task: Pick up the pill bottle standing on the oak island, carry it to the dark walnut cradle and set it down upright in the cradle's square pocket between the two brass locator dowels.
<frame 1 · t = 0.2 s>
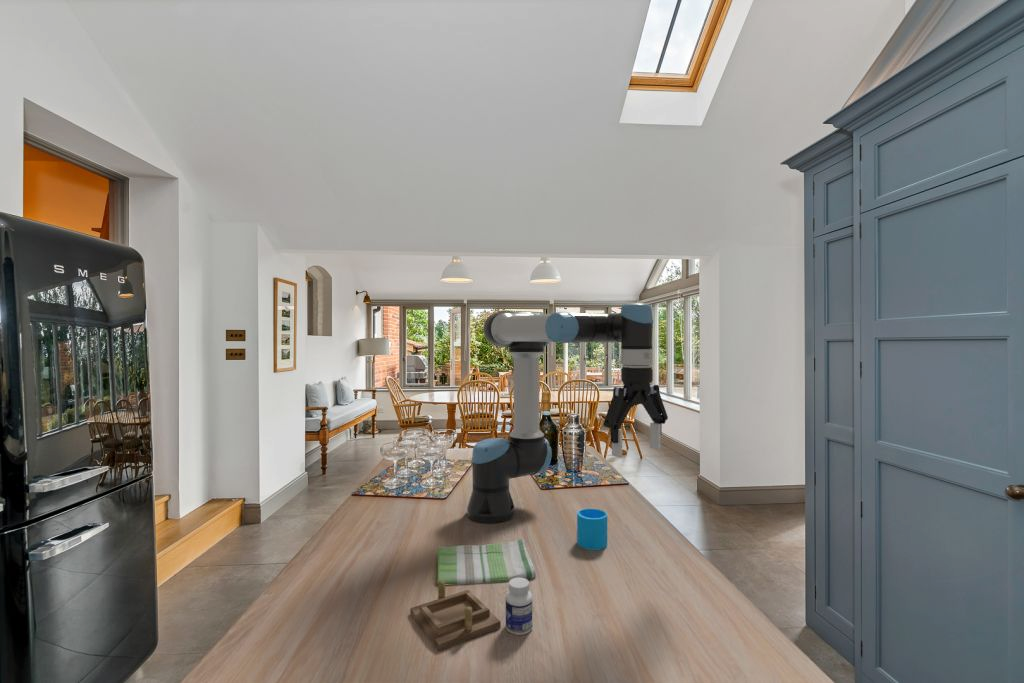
hand: (636, 452, 120), 28 cm above the kitchen island, fingers open, 13 cm apart
dish towel: (484, 568, 120), on the kitchen island
pill bottle: (519, 628, 95), on the kitchen island
mug: (589, 541, 135), on the kitchen island
cradle: (454, 620, 97), on the kitchen island
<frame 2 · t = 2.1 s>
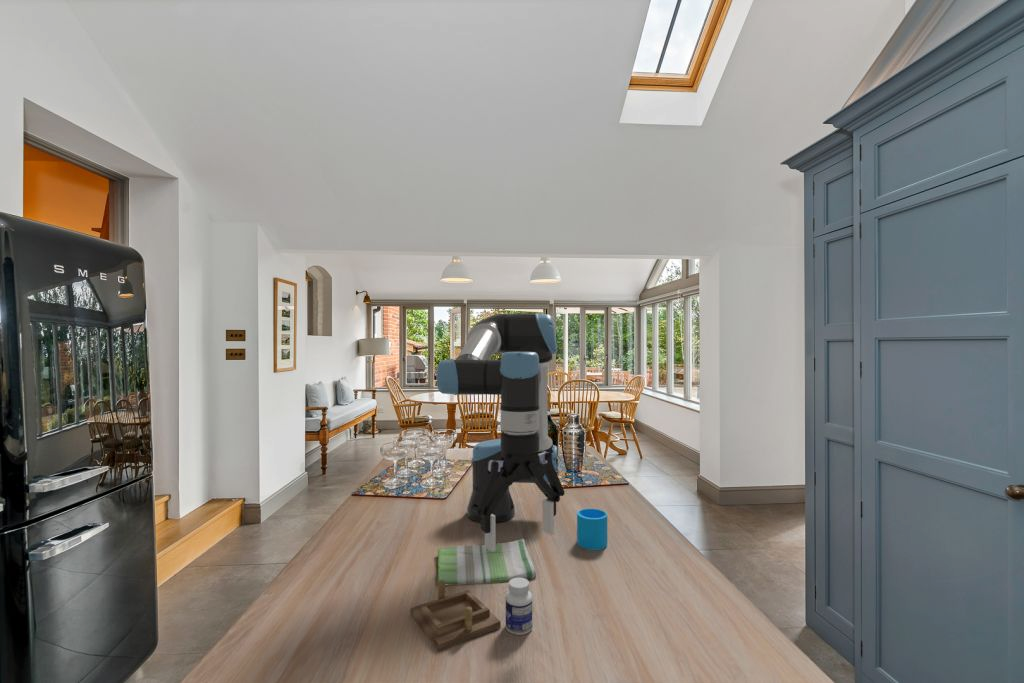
hand: (520, 540, 95), 17 cm above the kitchen island, fingers open, 13 cm apart
nothing on the kitchen island moved.
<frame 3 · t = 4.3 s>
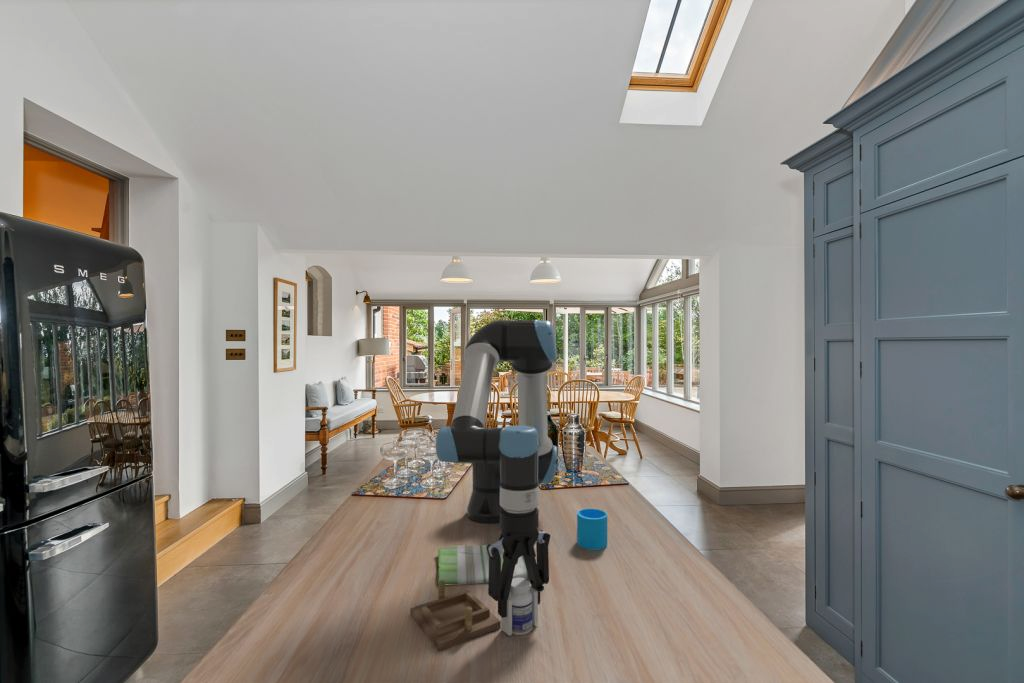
hand: (519, 626, 95), 0 cm above the kitchen island, fingers closed on pill bottle, 5 cm apart
pill bottle: (519, 628, 95), on the kitchen island, touching gripper
everything else where it was.
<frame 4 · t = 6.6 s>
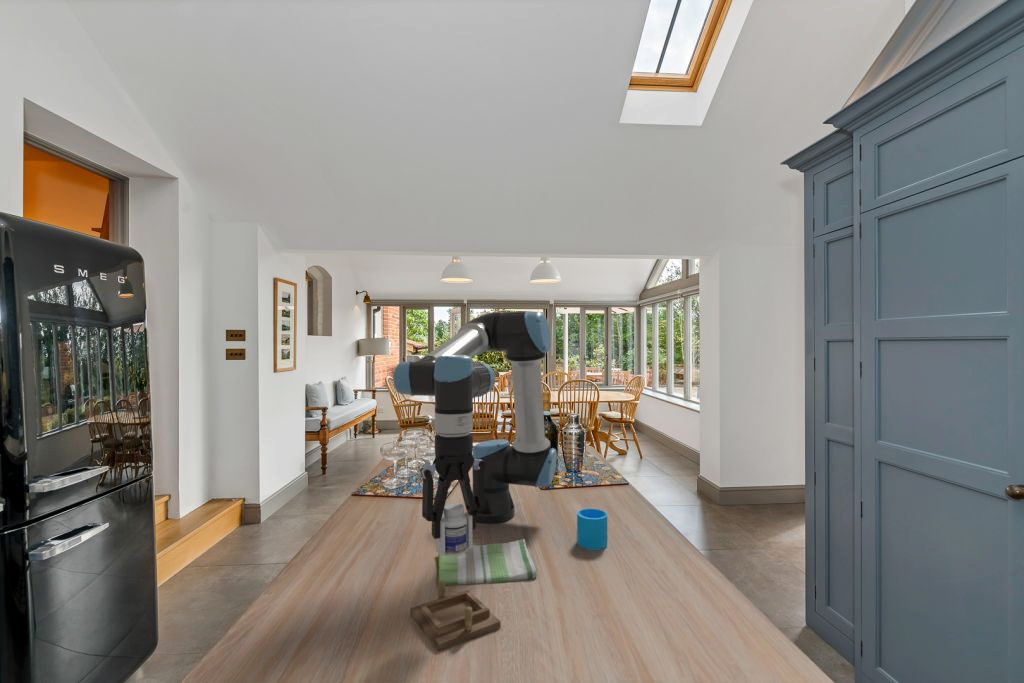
hand: (454, 549, 97), 14 cm above the kitchen island, fingers closed on pill bottle, 5 cm apart
pill bottle: (454, 551, 97), point 14 cm above the kitchen island, touching gripper
everything else where it was.
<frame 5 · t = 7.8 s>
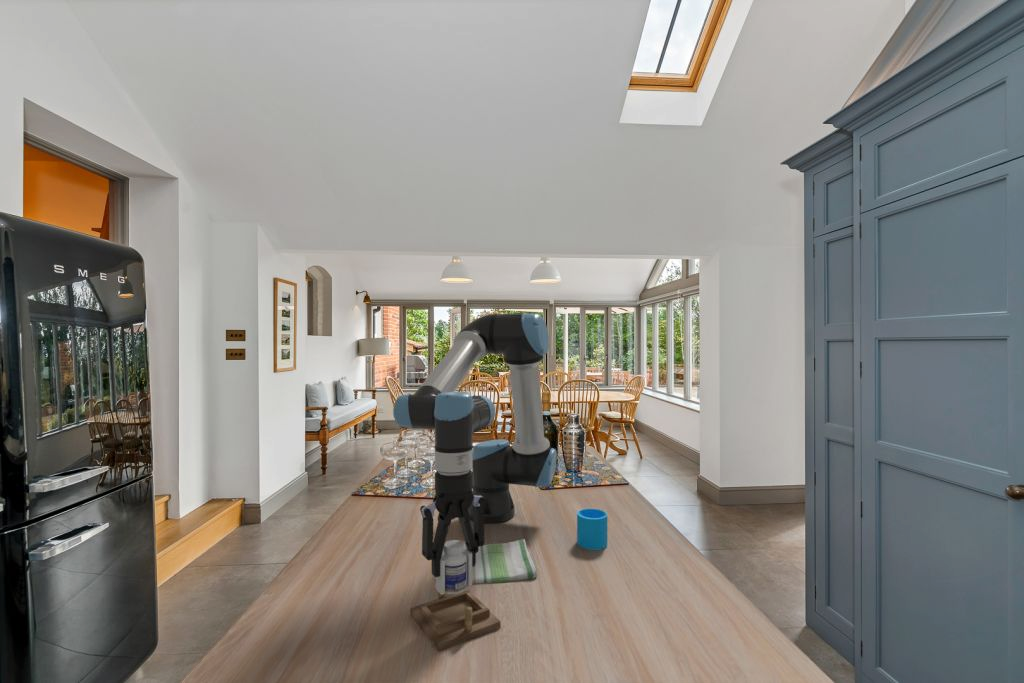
hand: (454, 586, 97), 7 cm above the kitchen island, fingers closed on pill bottle, 5 cm apart
pill bottle: (453, 589, 97), point 6 cm above the kitchen island, touching gripper
everything else where it was.
when the fingers open (3 cm above the kitchen island, at t = 8.9 s): pill bottle stays where it is, resting on cradle.
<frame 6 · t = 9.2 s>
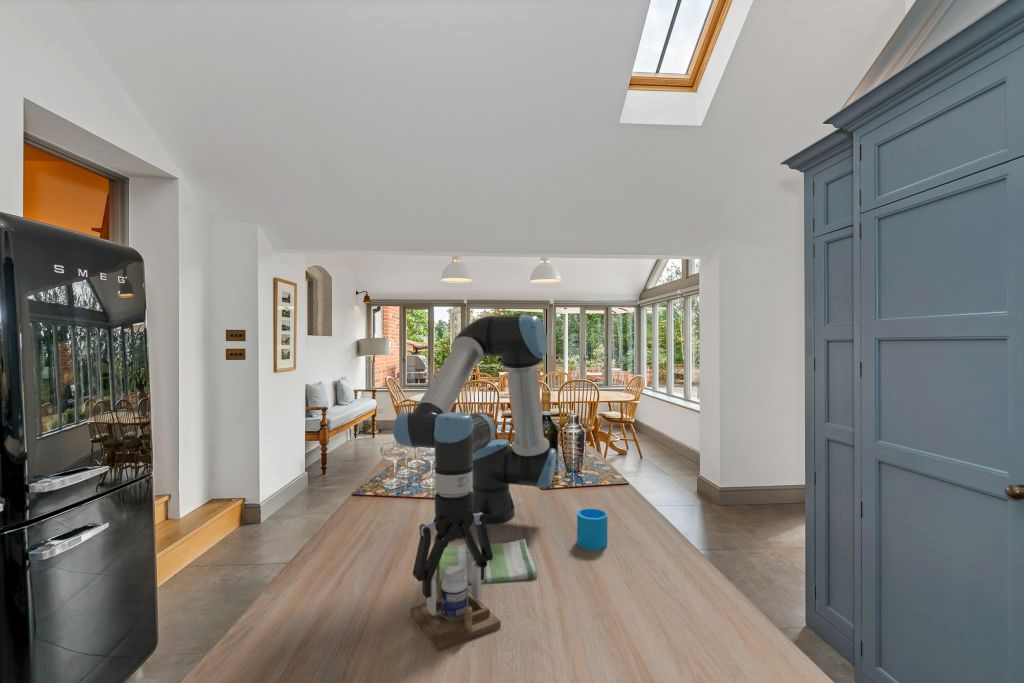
hand: (454, 604, 97), 3 cm above the kitchen island, fingers open, 9 cm apart
pill bottle: (454, 615, 97), point 1 cm above the kitchen island, touching cradle
everything else where it was.
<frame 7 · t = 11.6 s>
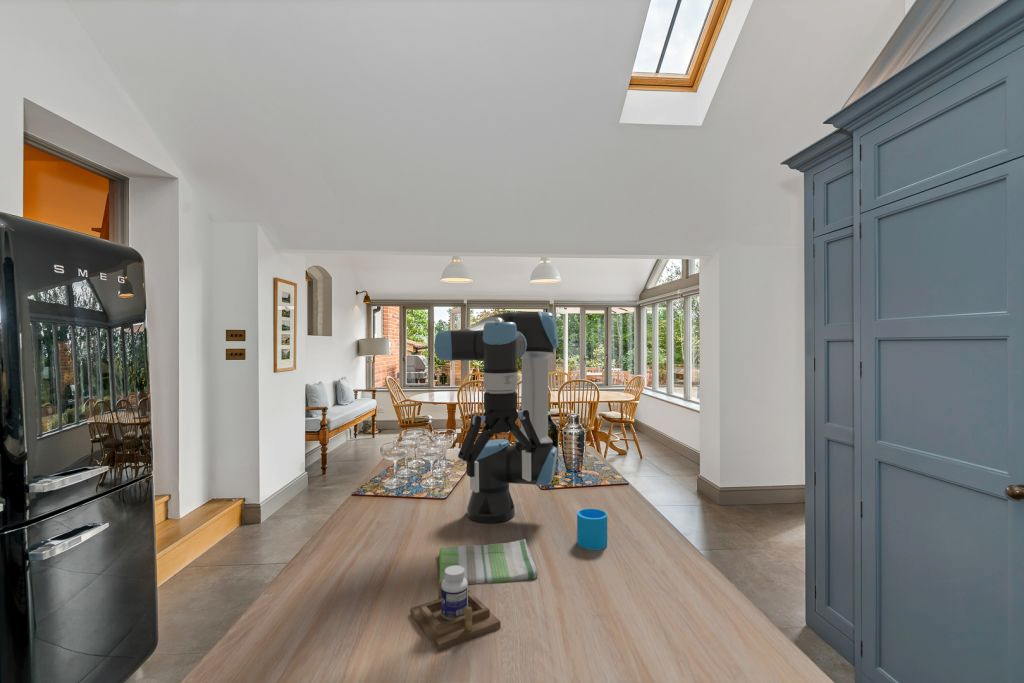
hand: (501, 485, 110), 23 cm above the kitchen island, fingers open, 13 cm apart
nothing on the kitchen island moved.
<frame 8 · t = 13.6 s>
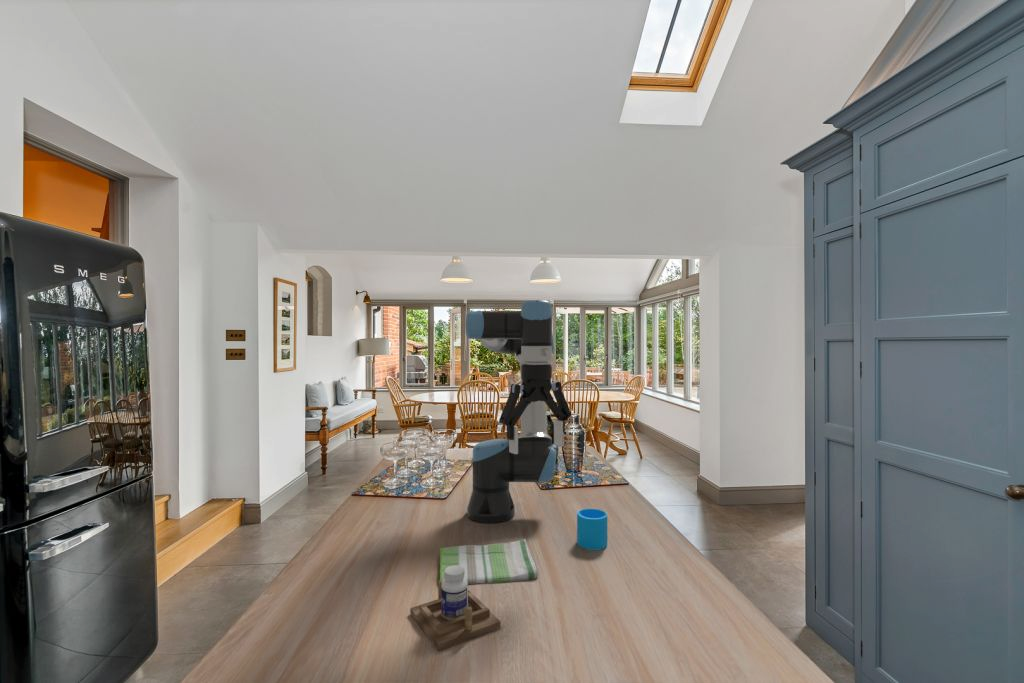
hand: (536, 449, 120), 29 cm above the kitchen island, fingers open, 13 cm apart
nothing on the kitchen island moved.
at the end: pill bottle inside the target area on the cradle (0.1 cm from its centre), point 1.0 cm above the cradle's base; pill bottle tilted 0°; the gripper is holding nothing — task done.
